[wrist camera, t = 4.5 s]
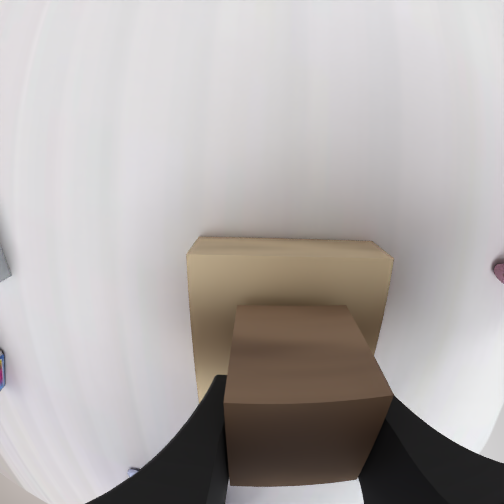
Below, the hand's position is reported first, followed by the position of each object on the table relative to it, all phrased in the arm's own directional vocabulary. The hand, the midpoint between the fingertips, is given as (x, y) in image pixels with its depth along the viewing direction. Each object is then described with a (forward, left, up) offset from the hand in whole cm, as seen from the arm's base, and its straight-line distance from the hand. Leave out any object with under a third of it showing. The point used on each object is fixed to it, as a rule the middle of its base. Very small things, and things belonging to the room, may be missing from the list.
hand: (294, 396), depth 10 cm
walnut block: (0, 0, -2) cm, 2 cm away
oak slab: (0, 0, -6) cm, 6 cm away
